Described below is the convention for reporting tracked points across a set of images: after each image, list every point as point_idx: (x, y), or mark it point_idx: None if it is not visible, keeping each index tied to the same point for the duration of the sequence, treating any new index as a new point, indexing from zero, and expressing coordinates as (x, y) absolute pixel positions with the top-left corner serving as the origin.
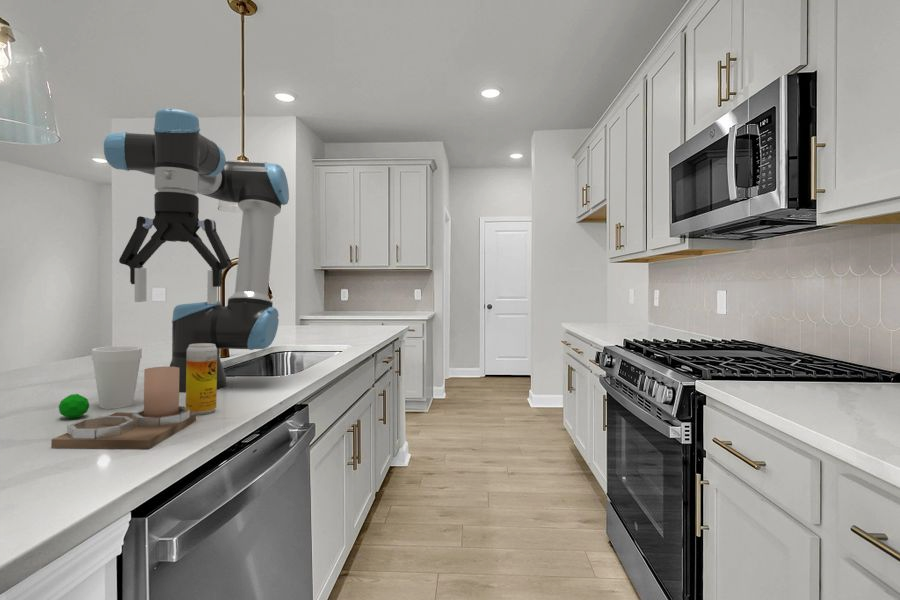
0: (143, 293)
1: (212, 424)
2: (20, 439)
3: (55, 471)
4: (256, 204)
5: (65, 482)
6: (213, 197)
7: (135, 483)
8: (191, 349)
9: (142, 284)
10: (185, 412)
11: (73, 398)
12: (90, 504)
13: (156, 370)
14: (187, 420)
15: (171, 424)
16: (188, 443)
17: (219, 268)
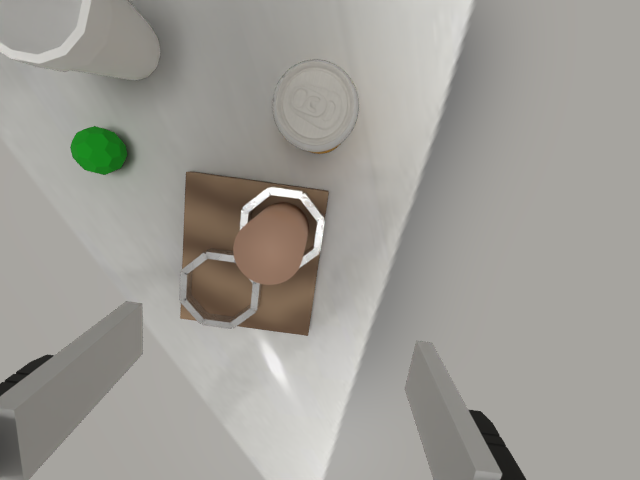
0: (122, 341)
1: (361, 217)
2: (119, 270)
3: (240, 389)
4: None
5: (268, 418)
6: None
7: (336, 428)
8: (294, 143)
9: (95, 377)
10: (322, 236)
11: (95, 165)
12: (317, 465)
13: (263, 270)
14: None
15: (310, 261)
16: (351, 311)
17: None
